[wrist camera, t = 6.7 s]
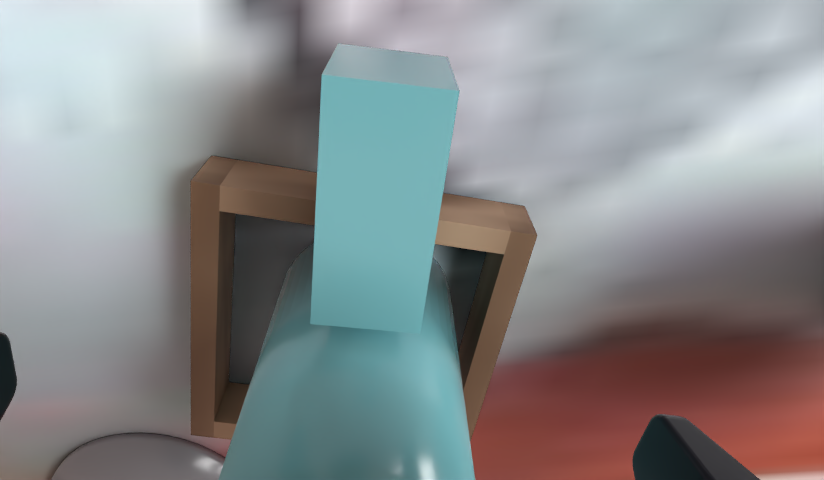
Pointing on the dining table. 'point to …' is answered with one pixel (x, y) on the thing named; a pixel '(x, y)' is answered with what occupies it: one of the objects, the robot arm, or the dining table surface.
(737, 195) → the dining table surface
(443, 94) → the jug
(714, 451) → the robot arm
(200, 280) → the holder
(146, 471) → the coaster
